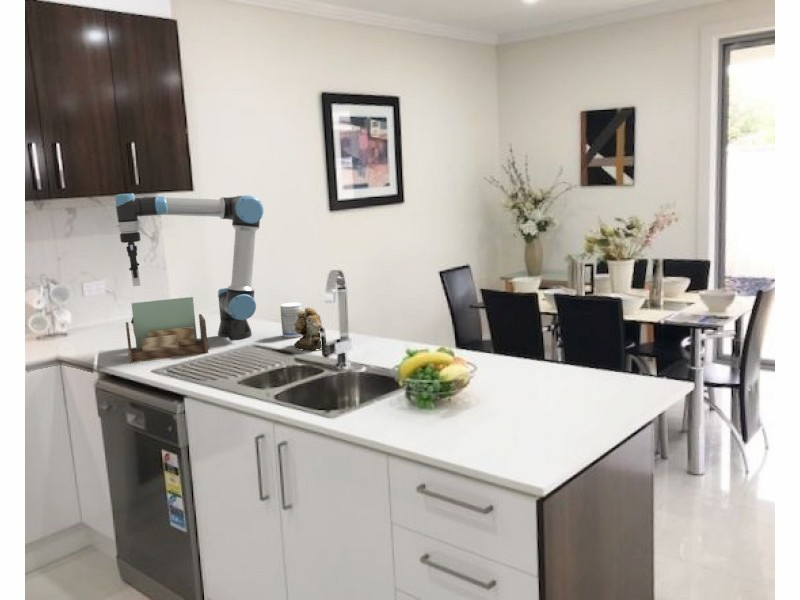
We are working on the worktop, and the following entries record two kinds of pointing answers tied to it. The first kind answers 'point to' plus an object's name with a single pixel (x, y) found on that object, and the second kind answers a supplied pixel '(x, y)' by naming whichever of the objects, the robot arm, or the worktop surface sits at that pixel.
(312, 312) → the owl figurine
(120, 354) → the worktop surface
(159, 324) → the sheet
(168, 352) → the rack
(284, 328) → the supplement tub
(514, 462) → the worktop surface
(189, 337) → the offcut oak
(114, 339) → the worktop surface
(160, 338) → the offcut birch
